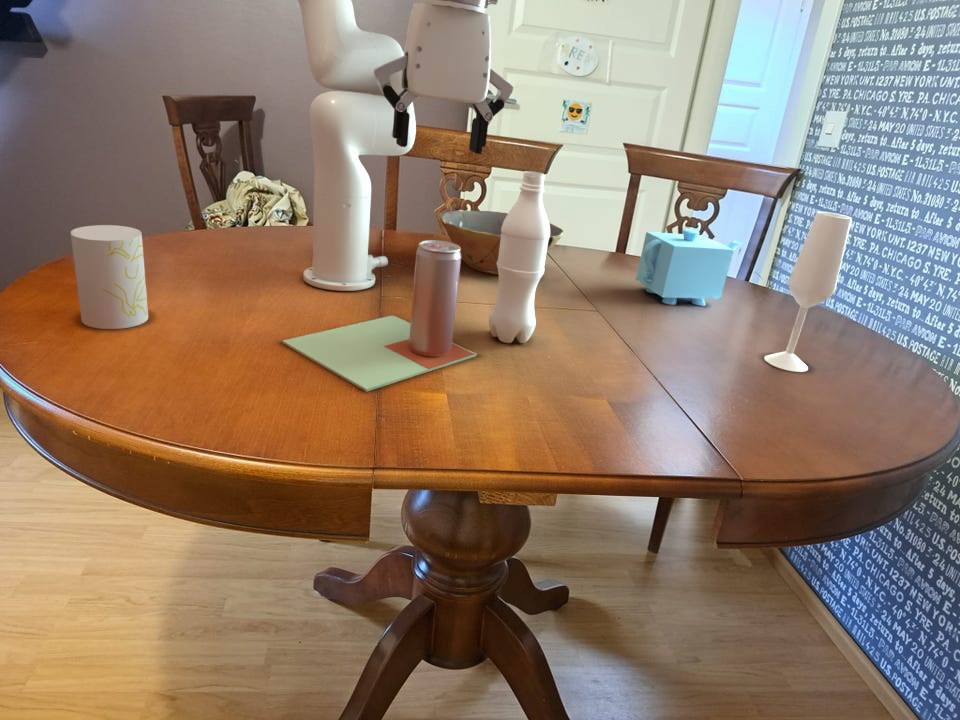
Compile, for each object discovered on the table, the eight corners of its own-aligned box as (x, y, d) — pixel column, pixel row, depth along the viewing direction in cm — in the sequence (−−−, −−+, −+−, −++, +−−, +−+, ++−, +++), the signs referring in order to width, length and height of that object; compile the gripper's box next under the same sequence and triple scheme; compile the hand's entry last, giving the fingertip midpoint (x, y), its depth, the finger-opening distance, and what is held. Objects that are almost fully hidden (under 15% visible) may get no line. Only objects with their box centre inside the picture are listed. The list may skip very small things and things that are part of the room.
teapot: (647, 305, 128) (663, 234, 122) (622, 287, 137) (636, 221, 132) (744, 308, 134) (763, 241, 128) (713, 290, 143) (730, 227, 138)
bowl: (579, 281, 138) (588, 233, 134) (490, 294, 122) (497, 241, 118) (499, 249, 155) (505, 207, 151) (412, 257, 139) (416, 210, 135)
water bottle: (537, 335, 105) (564, 174, 95) (525, 350, 99) (553, 179, 89) (495, 325, 107) (517, 167, 97) (480, 339, 100) (502, 171, 91)
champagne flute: (813, 365, 108) (864, 218, 98) (801, 375, 103) (853, 221, 93) (771, 351, 111) (816, 208, 102) (758, 360, 106) (804, 211, 97)
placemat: (392, 317, 105) (393, 314, 105) (476, 356, 94) (476, 353, 94) (282, 343, 90) (282, 339, 90) (366, 392, 80) (366, 388, 80)
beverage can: (408, 340, 96) (417, 237, 90) (449, 343, 96) (460, 242, 90) (408, 356, 90) (417, 248, 84) (451, 359, 91) (463, 253, 85)
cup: (121, 333, 87) (112, 244, 82) (67, 322, 88) (55, 233, 84) (161, 314, 95) (154, 231, 90) (110, 304, 96) (101, 222, 91)
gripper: (511, 8, 83) (493, 150, 89) (373, -16, 77) (365, 138, 84) (535, 7, 76) (512, 159, 83) (386, -20, 70) (376, 147, 77)
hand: (438, 148), depth 83 cm, fingers open, 9 cm apart
